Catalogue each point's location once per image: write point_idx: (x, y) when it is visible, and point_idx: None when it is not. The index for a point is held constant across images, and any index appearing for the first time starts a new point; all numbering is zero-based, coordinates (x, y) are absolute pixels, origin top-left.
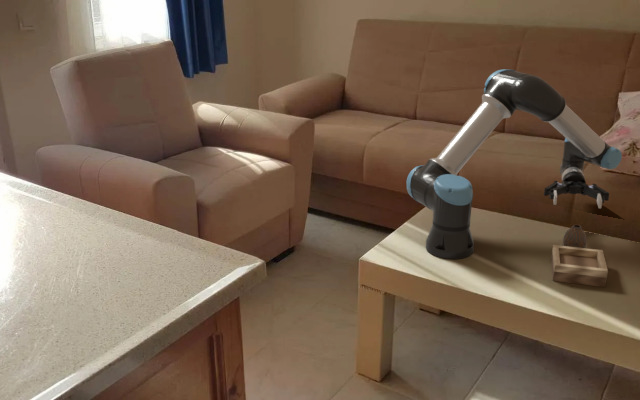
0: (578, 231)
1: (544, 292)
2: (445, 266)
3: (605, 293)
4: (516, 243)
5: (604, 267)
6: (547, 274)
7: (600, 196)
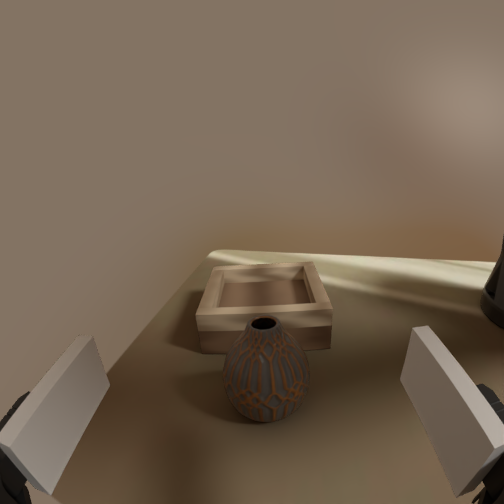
0: (258, 324)
1: (319, 273)
2: (479, 280)
3: None
4: None
5: (216, 272)
6: None
7: (36, 390)
